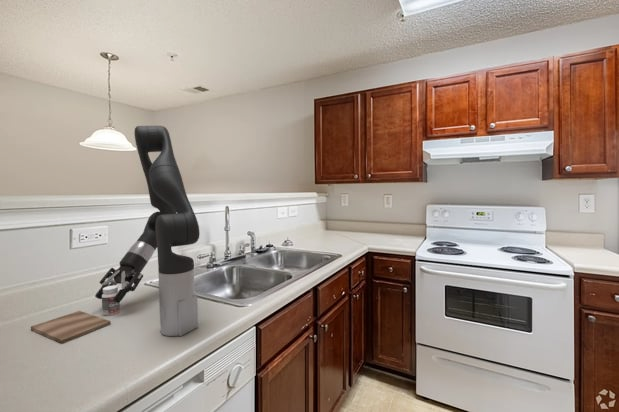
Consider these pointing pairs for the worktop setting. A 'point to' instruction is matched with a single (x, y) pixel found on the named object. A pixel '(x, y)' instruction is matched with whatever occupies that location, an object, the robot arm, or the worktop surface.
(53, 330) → the walnut board
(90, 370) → the worktop surface
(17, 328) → the worktop surface
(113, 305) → the pill bottle
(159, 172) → the robot arm
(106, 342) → the worktop surface
